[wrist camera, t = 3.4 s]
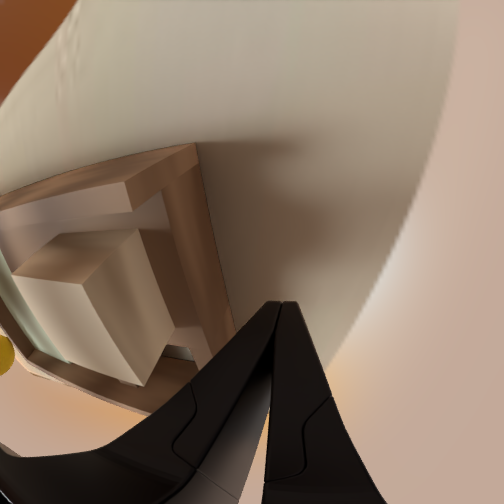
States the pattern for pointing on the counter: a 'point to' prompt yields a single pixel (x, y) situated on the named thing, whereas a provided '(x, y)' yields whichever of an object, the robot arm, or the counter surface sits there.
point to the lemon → (6, 354)
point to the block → (98, 302)
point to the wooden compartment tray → (157, 249)
